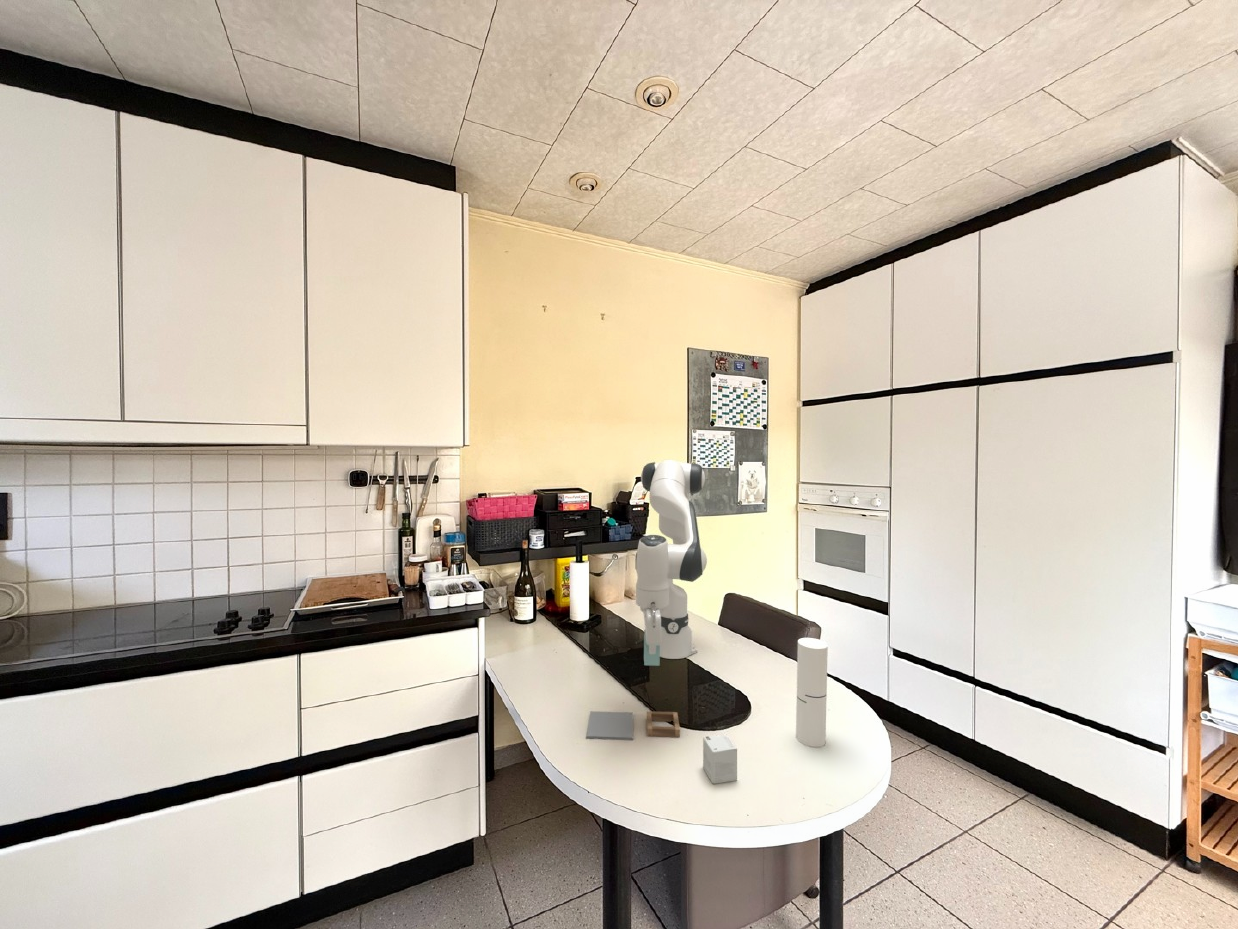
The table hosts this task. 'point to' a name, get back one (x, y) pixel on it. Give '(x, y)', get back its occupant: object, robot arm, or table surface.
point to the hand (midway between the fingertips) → (651, 649)
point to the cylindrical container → (811, 692)
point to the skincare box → (719, 758)
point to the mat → (610, 725)
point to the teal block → (651, 658)
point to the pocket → (659, 730)
